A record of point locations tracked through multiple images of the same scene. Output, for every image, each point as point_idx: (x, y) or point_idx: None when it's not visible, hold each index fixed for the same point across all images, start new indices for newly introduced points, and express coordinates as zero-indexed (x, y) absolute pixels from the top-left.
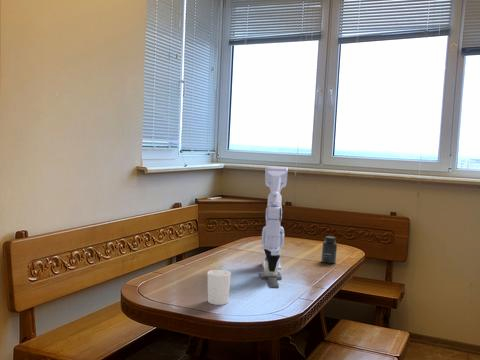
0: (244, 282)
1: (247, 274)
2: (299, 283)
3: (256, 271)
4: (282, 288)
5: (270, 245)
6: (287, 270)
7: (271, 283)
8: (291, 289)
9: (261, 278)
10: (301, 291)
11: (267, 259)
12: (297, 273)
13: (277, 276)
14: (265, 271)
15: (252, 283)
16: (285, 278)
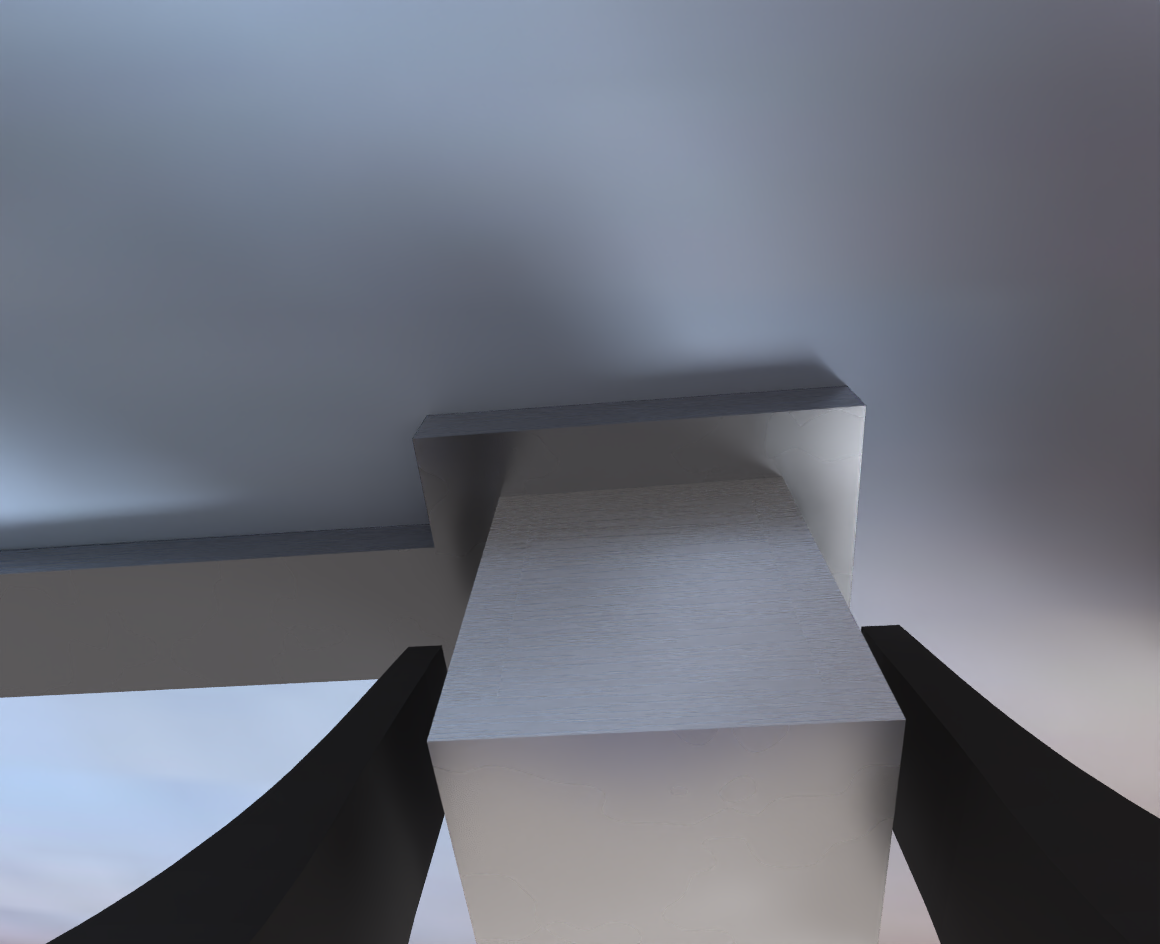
0: (13, 27)
1: (761, 70)
2: None
3: (1066, 302)
4: (17, 710)
5: None
6: None
7: (4, 599)
8: (38, 805)
9: (451, 416)
10: (18, 890)
11: (652, 802)
12: (915, 931)
13: None
14: (489, 555)
15: (33, 231)
16: None
